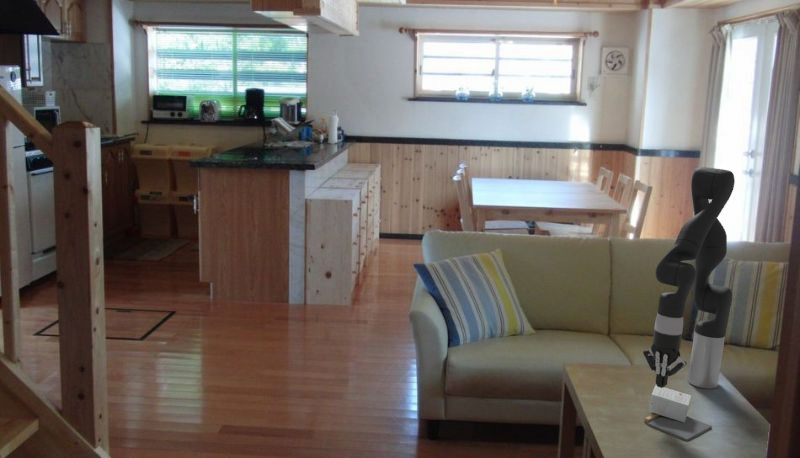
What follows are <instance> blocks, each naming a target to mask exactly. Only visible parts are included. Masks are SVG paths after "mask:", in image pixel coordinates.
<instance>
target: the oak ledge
mask: <svg viewBox="0 0 800 458" xmlns="http://www.w3.org/2000/svg"><path fill="white" fill-rule="evenodd" d="M661 416H662V415H659V414H655V413H653V414H650V415H648V416H647V417H644V423H646V424H648V423H649V422H651V421H653V420H655V419H657V418H659V417H661Z"/></svg>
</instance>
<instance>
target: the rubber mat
mask: <svg viewBox="0 0 800 458" xmlns="http://www.w3.org/2000/svg"><path fill="white" fill-rule="evenodd" d="M647 426H649V427H652V428H654V429H657V430H659V431H661V432H663V433H665V434H668V435H671V436H673V437H675V438H679V439H681V440H682V441H686V442H688V441H690V440H692V439H694V438H695V437H697V436H699V435H701V434H703V433H706V432H707V431H709V430H710V429H712V427H713V426H712V425H710V424H708V423H705V422H703V421H700V420H698V419H695V418H692V417H690V416H687V417H686V420H685V423H684V422H681V421H678V420H674V419H671V418H668V417H665V416H661V417H659V418H657V419H655V420H653V421H651V422H649V423H647Z"/></svg>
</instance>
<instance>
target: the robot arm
mask: <svg viewBox="0 0 800 458" xmlns="http://www.w3.org/2000/svg"><path fill="white" fill-rule="evenodd" d="M735 182H736V181H735V174H734V173H733V171H731V170H727V169H723V168H722V169H721V168H716V167H715V168H714V167H707V166H706V167H705V166H699V167H697V168H695V170H694V171H693V174H692V178H691V183H690V185H691V186H690V187H691V189H690V190H691V197H692V198H691V199H692V200H691V201H692V206H693V215H694V216H692V217H690V219H688V220H687V221H686V222H685V223H684V224H683V226H682V227H681V228H680V230H679V233H678V235H677V236H676V239H675V242H674V244H673V246H672V247H671V248H669V251H668V252H667V253H666V254H665V255H664V256H663V257H662V258H661V259H660V261H659V262H658V264H657V266H656V268H655V278H656V279H657V281H658V282H659V283H661V284H664V285H666V286H671V287H673V286H674V287H677V290H676V291H675V292H673V291H671V292H670V291H669V292H668V291H667V292H662V293H661V294H660V296H659V298H658V299H659V300H658V305H657V306H658V307H657V314H656V316H655V322H654V330H653V337H652V338H653V339H652V345H651V346H650V348H648V349H646V350H644V351H643V352H642V353H643V355H644V358H645V360H646V362H647V364H648V366H649V367H650V370H651V371H654V372H655V374H656V377H655V385H657V387H660V388H663V387H665V388H666V387H667V385H668V379H669V377H671V376H674V375H676V374H677V373H678V372H679V371H681V370H682V369H684V367H685V366H687V361H685V360H683V359H682V358H681V352H680V350H681V349H680V348H681V344H682V336H683V329H684V315H685V314H684V313H685V308H686V303H687V300H688V296H689V294H690V291H691V289H692V287H693V285H694V288H693V289H694V290H693V291H694V292H693V304H694V307H695V309H696V310H698V311H701V312H704V313H708V314H712V315H715V317H714V318H713V319H706V320H699V321H697V322H696V324H695V327H694V332H693V333H694V334H693V342H692V346H691V347H692V348H691V355H690V361H689V367H688V368H689V369H688V376H687V382H688V384H690V385H692V386H694V387H698V388H702V389H717V388H718V386H719V385H718V384H719V379H720V373H721V365H722V359H723V352H724V346H725V345H724V344H725V339H726V331H727V327H728V322H729V316H730V311H731V306H732V303H733V292H732V289H731V288H730V287H727V286H723V285H718V284H714V283H713V284H711V283H710V282H709V277H710V275H711V274H712V272H713V271H714V270H715V269H716V268H717V267H718V266H719V265H720V264H721V262H723V260H724V259H725V257H726V256H727V249H728V246H727V245H728V242H727V241H728V239H727V238H728V236H727V233H726V229H725V228H724V226H723V225H722V222H721V221H720V220H719V218H718V217H719V215H720V214H721V212H722V211H723V209H724V208H725V206H726V205H727V203H728V201H729V200H730V198H731V195H732V193H733V190H734V188H735V184H736V183H735ZM709 200H710V201H709ZM694 260H695V261H694ZM683 261H684V262H683ZM685 261H694V263H695V266H694V265H693V264H691V263H688V262H685ZM674 363H675V366H674V367H673V368H672V366H673V364H674Z"/></svg>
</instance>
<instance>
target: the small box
mask: <svg viewBox="0 0 800 458" xmlns="http://www.w3.org/2000/svg"><path fill="white" fill-rule="evenodd" d="M691 401H692V395H691V394H689V393H688V394H687V393H683V392H681V391H677V390H674V389H672V388H671V389H670V388H669V387H666V386H665V387H663V388H660V387H657V384H655V385H654V387H653V390H652V393H651V395H650V399H649V405H648V407H647V408H648V409H647V411H648V413H649V412H650V413H653V414H659V415H662V416H665V417H668V418H671V419H674V420H678V421H681V422H684V423H685V420H686V417H688V413H689V410H690V405H691Z"/></svg>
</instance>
